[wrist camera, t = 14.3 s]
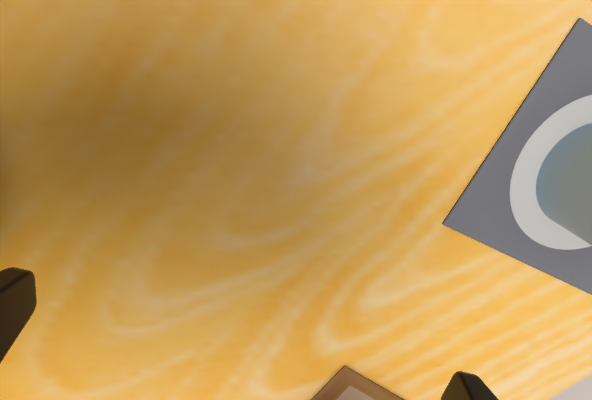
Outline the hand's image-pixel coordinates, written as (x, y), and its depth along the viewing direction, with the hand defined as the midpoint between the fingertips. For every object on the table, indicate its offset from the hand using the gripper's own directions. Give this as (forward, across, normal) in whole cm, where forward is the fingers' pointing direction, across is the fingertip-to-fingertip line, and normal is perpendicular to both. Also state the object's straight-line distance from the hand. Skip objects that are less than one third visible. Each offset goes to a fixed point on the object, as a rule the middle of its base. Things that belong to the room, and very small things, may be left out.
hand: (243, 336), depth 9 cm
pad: (+15, -15, -1) cm, 21 cm away
